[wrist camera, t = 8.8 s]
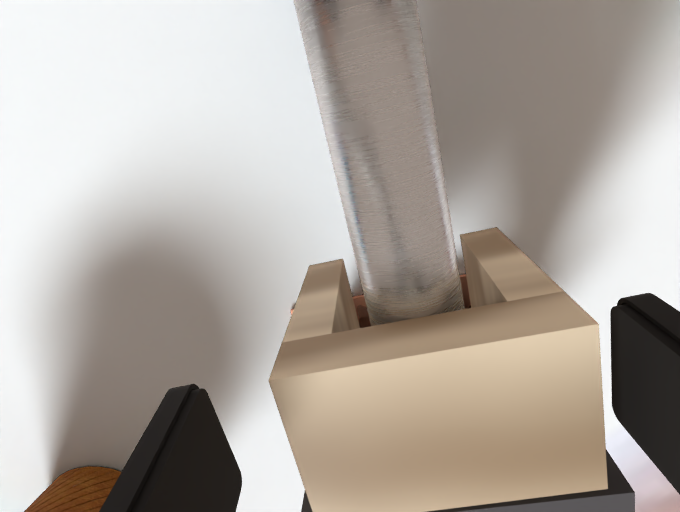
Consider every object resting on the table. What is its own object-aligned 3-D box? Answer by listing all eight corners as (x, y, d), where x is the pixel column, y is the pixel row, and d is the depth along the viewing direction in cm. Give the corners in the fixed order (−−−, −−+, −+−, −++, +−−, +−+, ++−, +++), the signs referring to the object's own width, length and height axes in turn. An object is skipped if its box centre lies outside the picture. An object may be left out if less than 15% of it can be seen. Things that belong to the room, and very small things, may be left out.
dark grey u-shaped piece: (331, 333, 19) (298, 528, 10) (508, 302, 18) (634, 492, 9) (339, 362, 19) (313, 572, 11) (512, 334, 18) (635, 542, 10)
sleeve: (309, 265, 15) (268, 380, 9) (496, 227, 14) (598, 323, 8) (336, 363, 16) (317, 525, 10) (510, 332, 16) (607, 489, 9)
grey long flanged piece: (194, -11, 15) (22, -128, 7) (487, -96, 14) (653, -340, 6) (331, 443, 21) (318, 637, 14) (539, 409, 20) (653, 599, 13)
